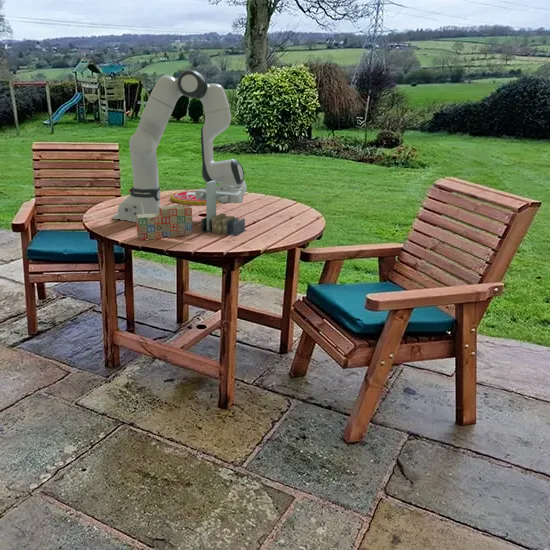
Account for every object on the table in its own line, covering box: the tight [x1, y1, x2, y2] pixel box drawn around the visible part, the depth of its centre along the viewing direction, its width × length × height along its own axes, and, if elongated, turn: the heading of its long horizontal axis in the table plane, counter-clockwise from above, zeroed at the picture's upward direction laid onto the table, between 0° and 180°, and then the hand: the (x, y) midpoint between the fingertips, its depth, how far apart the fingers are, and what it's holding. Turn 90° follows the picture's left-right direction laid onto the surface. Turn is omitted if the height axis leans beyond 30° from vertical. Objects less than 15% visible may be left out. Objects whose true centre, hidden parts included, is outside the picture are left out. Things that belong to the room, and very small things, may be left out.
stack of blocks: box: [135, 204, 193, 241], centre depth 212 cm, size 21×6×12 cm, turn 112°
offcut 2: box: [215, 215, 230, 235], centre depth 221 cm, size 2×10×5 cm, turn 159°
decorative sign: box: [169, 189, 221, 206], centre depth 284 cm, size 30×3×30 cm
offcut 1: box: [212, 213, 227, 234], centre depth 222 cm, size 2×9×6 cm, turn 159°
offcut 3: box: [222, 215, 236, 234], centre depth 220 cm, size 2×8×6 cm, turn 159°
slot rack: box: [200, 216, 248, 237], centre depth 221 cm, size 17×11×6 cm, turn 69°
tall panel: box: [205, 180, 217, 230], centre depth 221 cm, size 2×6×20 cm, turn 159°
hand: (210, 198), depth 219 cm, fingers open, 8 cm apart
